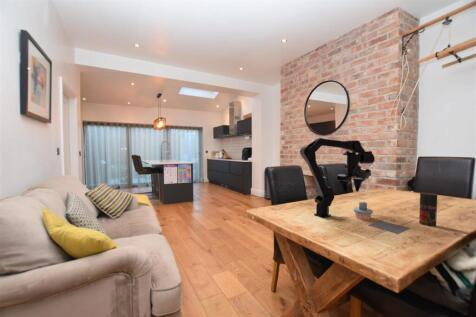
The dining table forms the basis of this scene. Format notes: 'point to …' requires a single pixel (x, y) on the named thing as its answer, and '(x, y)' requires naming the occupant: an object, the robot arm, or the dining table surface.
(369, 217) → the pink block
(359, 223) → the dining table surface
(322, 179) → the robot arm
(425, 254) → the dining table surface
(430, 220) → the deodorant
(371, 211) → the lid
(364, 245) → the dining table surface
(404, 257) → the dining table surface
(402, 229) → the mat
